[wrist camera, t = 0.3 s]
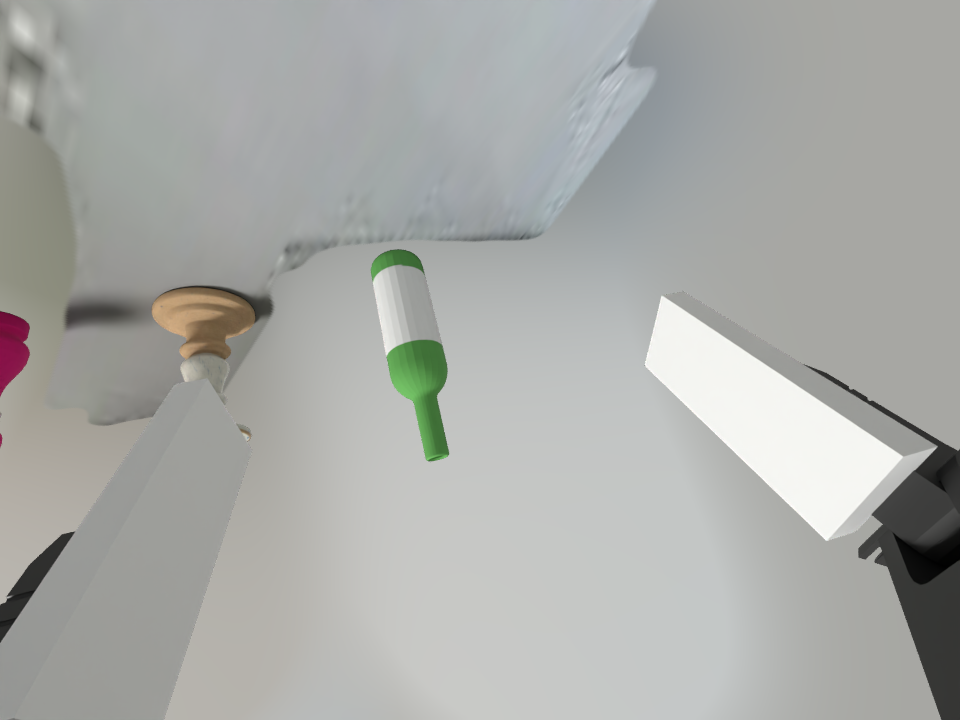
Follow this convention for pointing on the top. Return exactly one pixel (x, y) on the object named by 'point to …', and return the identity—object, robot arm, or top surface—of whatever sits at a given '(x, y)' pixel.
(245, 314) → the candle holder
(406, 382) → the wine bottle
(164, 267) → the top surface
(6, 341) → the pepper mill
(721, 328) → the robot arm
